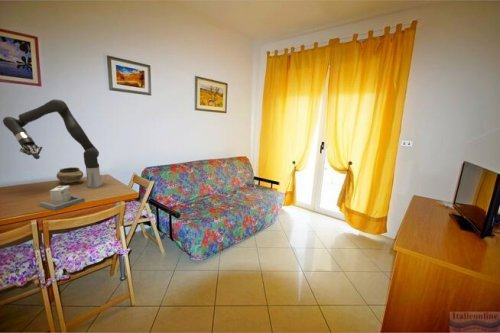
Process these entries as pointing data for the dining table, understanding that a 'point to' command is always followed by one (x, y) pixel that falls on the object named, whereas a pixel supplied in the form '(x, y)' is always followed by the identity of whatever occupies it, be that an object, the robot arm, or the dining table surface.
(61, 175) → the ceramic bowl
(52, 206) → the charcoal bay
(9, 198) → the dining table surface
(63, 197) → the light bulb box
